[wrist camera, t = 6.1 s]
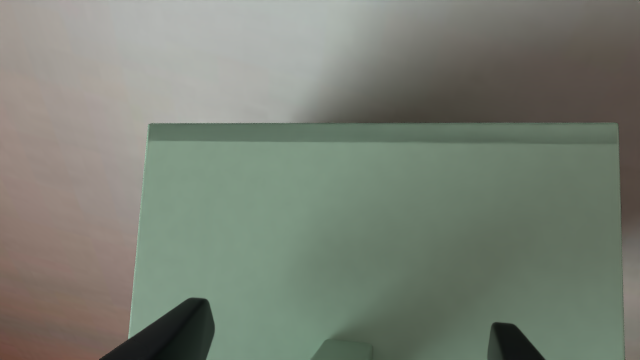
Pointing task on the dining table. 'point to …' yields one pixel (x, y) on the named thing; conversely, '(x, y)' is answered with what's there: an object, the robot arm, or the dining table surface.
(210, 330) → the robot arm
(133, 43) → the dining table surface
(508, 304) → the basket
